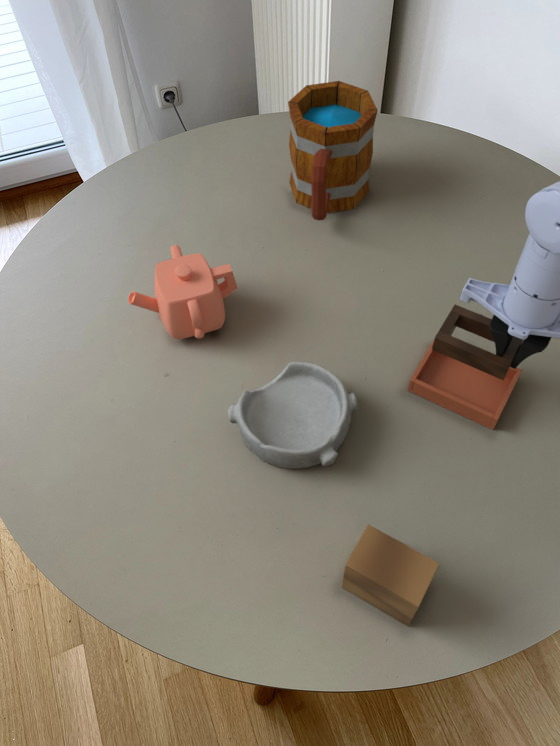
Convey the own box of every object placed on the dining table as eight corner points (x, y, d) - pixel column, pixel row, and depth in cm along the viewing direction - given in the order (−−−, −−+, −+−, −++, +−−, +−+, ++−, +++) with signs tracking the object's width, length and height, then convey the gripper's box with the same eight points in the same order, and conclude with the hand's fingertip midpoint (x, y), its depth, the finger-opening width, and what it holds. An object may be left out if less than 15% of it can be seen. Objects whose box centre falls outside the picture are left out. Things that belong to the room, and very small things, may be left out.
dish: (218, 438, 82) (214, 417, 78) (281, 364, 88) (280, 341, 84) (314, 498, 77) (315, 479, 73) (373, 415, 83) (377, 394, 79)
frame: (520, 345, 78) (526, 332, 76) (503, 380, 76) (508, 368, 74) (451, 316, 81) (454, 303, 79) (431, 349, 78) (434, 337, 76)
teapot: (134, 331, 93) (118, 284, 85) (182, 277, 98) (172, 229, 90) (201, 363, 89) (191, 317, 81) (247, 305, 95) (242, 257, 87)
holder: (517, 380, 86) (522, 369, 84) (493, 430, 82) (498, 420, 80) (434, 344, 90) (437, 333, 88) (407, 390, 85) (409, 379, 83)
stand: (427, 586, 71) (439, 563, 65) (408, 627, 68) (418, 607, 62) (362, 549, 73) (368, 523, 67) (341, 587, 71) (345, 564, 65)
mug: (296, 158, 114) (296, 77, 102) (373, 165, 112) (382, 84, 100) (274, 235, 103) (270, 154, 91) (359, 244, 101) (367, 164, 89)
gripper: (460, 278, 66) (437, 357, 77) (604, 334, 62) (557, 410, 73) (485, 236, 70) (460, 318, 81) (624, 286, 65) (576, 365, 76)
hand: (507, 358), depth 77 cm, fingers closed on frame, 1 cm apart
